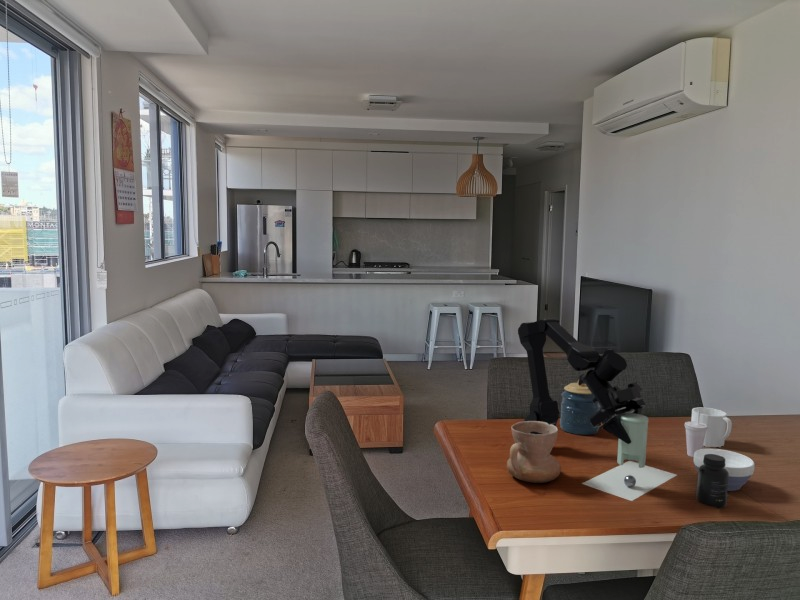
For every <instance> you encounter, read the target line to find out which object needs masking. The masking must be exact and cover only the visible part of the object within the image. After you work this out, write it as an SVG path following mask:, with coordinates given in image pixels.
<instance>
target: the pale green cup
mask: <svg viewBox="0 0 800 600" xmlns="http://www.w3.org/2000/svg"><path fill="white" fill-rule="evenodd" d="M621 424H622V425H623V427H624V429H625V431H626V432H627V434H628V436H629V438H630V440H631V443H630V444H627V443H625V442H624V441H622V440H621V439H619V438H618V440H617V441H618V445H617V458H616V462H617V464H618V465H623V464H624V461H626V460H628V461H634V462H635V461H636V462H637V463H639V468H643V467H645V465H646V456H647V443H648V442H647V441H648V426H649V417H648V416H646V415H643V414H641V415H640V414H635V413H623V414H621Z"/></svg>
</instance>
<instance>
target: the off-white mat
mask: <svg viewBox="0 0 800 600" xmlns="http://www.w3.org/2000/svg"><path fill="white" fill-rule="evenodd" d="M628 475H631V476H633V477H634V478H635V479H636V484H635V486H633V487H628V486H626V485H625V483H624V478H625V477H626V476H628ZM677 476H678V474H676V473H673V472H669V471H665V470H662V469H658V468H656V467H653V466H648V465H646V464H645V467H643V468H639V462H637V461H636V462H635V461H634V460H628V461H625V462H623V465H620V464H618V466H617V465H616V467H613V468H611V469H609V470H607V471H605V472H603V473H601V474H598V475H597V476H594V477H593V478H589V480H586V481H585V482H582V483H581V484H582V485H584V486H588V487H589V488H593V489H596V490H598V491H601V492H604V493H607V494H610V495H612V496H616V497H619V498H622V499H625V500H627V501H631V502H633V501H635V500H636V499H638V498H640V497H641V496H644V495H645V494H647V493H649V492H651V491H652V490H654V489H656V488H657V487H659V486H661V485H663V484H664V483H666V482H668V481H670V480H672V479H673V478H675V477H677Z"/></svg>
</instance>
